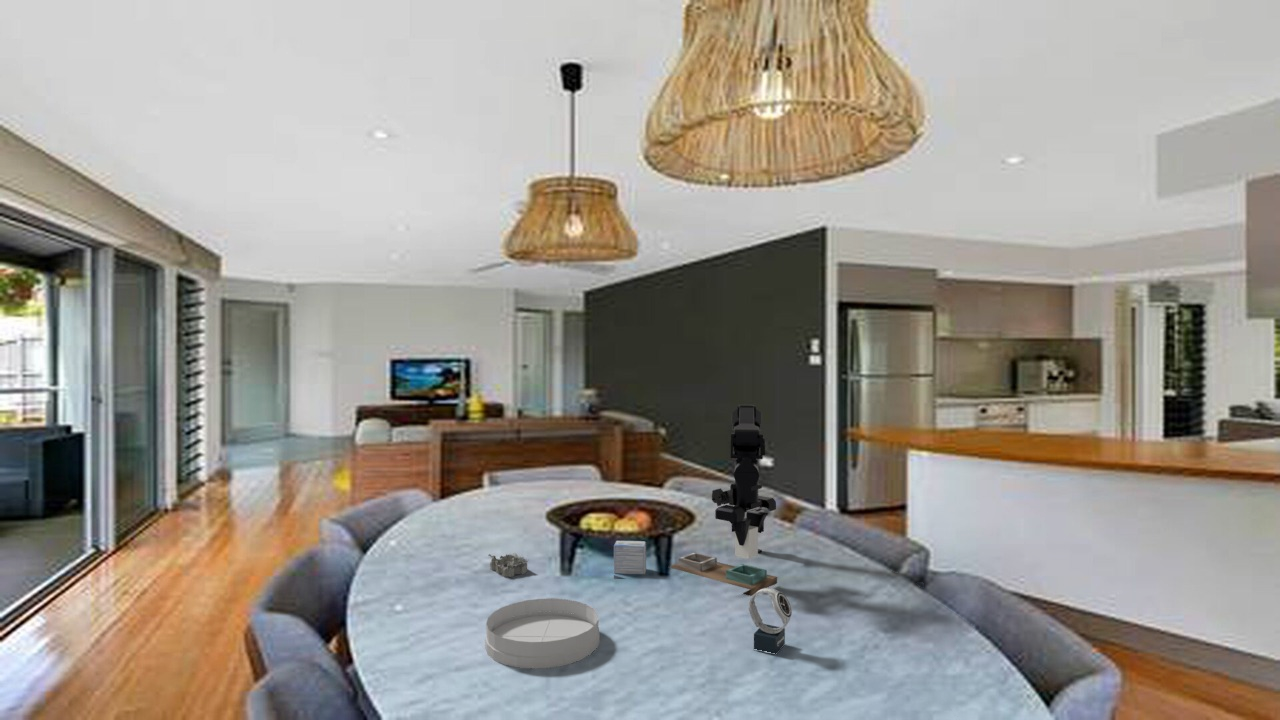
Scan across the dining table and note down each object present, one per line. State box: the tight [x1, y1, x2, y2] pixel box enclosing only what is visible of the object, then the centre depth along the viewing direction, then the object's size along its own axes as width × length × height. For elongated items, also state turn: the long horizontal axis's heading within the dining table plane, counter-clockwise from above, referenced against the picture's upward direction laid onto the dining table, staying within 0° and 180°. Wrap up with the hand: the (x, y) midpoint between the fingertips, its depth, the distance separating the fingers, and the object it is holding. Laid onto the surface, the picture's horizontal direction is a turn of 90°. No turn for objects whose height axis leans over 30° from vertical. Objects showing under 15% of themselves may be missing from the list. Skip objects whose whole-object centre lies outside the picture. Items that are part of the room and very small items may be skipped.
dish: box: [484, 598, 600, 670], centre depth 131 cm, size 22×22×5 cm
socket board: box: [669, 552, 778, 597], centre depth 170 cm, size 12×25×4 cm, turn 48°
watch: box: [748, 587, 793, 655], centre depth 129 cm, size 6×8×11 cm
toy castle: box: [488, 552, 529, 578], centre depth 175 cm, size 11×8×4 cm
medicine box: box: [613, 540, 647, 580], centre depth 170 cm, size 8×4×9 cm, turn 84°
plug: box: [734, 525, 759, 560], centre depth 165 cm, size 4×4×7 cm
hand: (746, 543), depth 165 cm, fingers closed on plug, 4 cm apart
